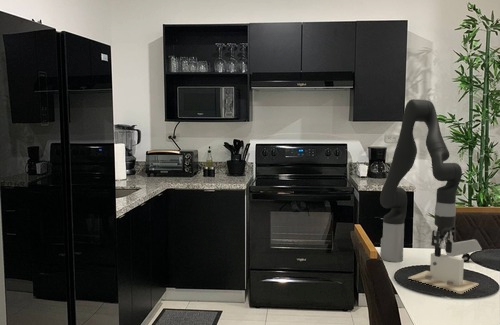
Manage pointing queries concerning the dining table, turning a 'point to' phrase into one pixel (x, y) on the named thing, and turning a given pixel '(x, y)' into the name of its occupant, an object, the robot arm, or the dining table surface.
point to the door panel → (447, 269)
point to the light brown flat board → (443, 283)
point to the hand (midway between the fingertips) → (443, 254)
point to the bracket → (464, 248)
